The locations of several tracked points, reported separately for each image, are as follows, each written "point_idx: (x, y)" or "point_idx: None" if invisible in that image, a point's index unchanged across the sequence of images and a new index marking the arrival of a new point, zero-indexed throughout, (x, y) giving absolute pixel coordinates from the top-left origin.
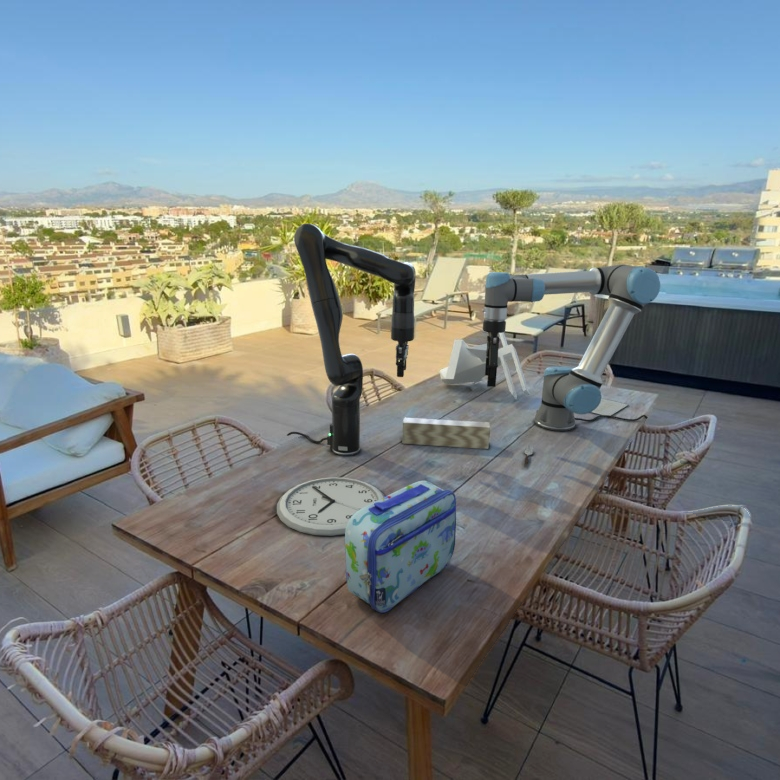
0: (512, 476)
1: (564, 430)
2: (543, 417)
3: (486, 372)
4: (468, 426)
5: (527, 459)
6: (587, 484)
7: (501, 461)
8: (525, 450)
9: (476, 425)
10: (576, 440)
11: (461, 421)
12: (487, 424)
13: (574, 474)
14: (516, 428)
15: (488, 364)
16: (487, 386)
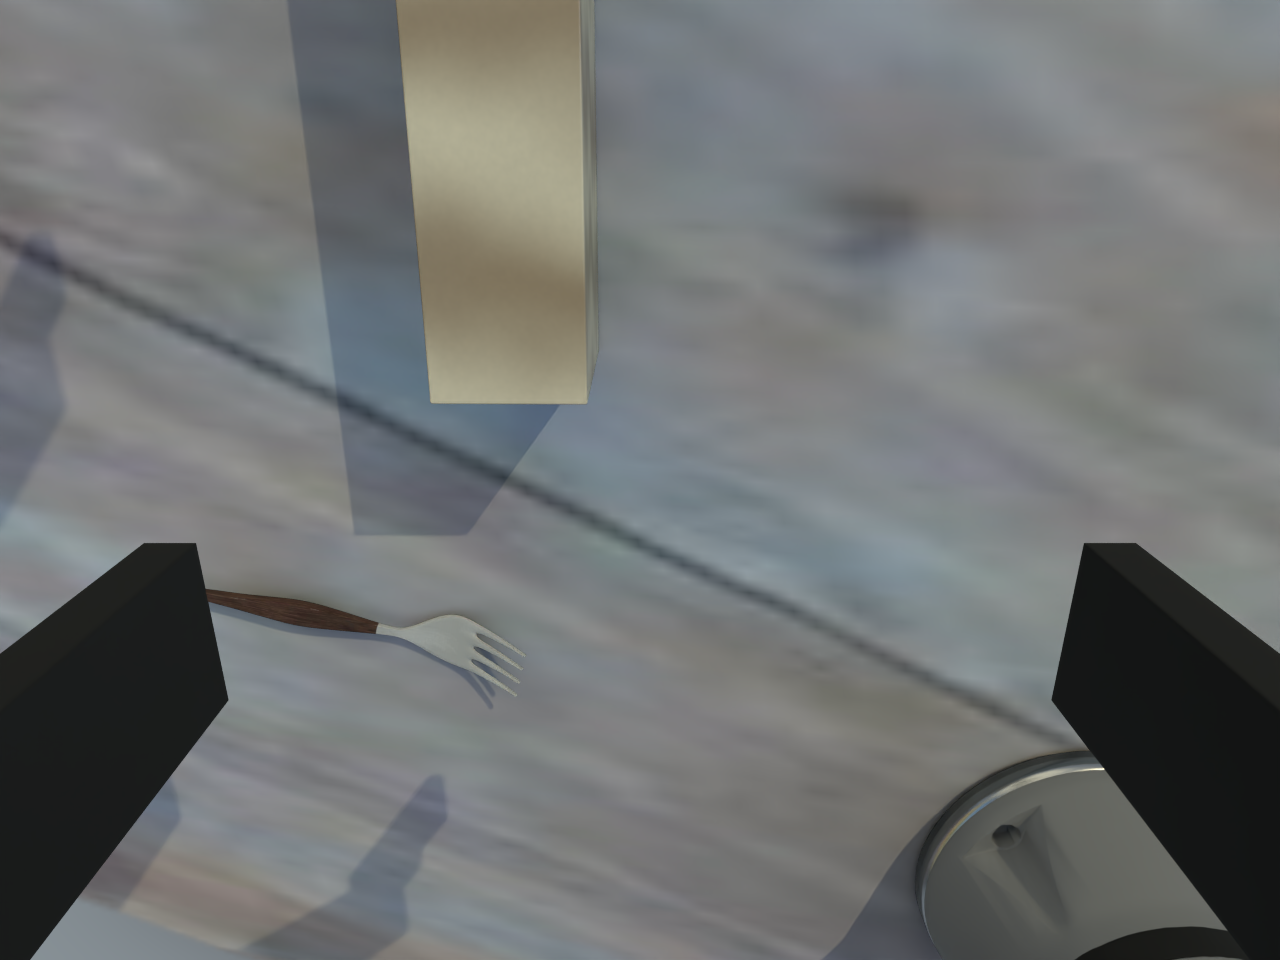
0: (28, 491)
1: (919, 907)
2: (1036, 847)
3: (1120, 609)
4: (409, 158)
5: (296, 622)
6: (99, 878)
7: (261, 437)
8: (474, 626)
9: (457, 257)
10: (758, 938)
11: (555, 67)
12: (517, 382)
13: (210, 842)
14: (968, 608)
15: (1268, 796)
16: (145, 549)
